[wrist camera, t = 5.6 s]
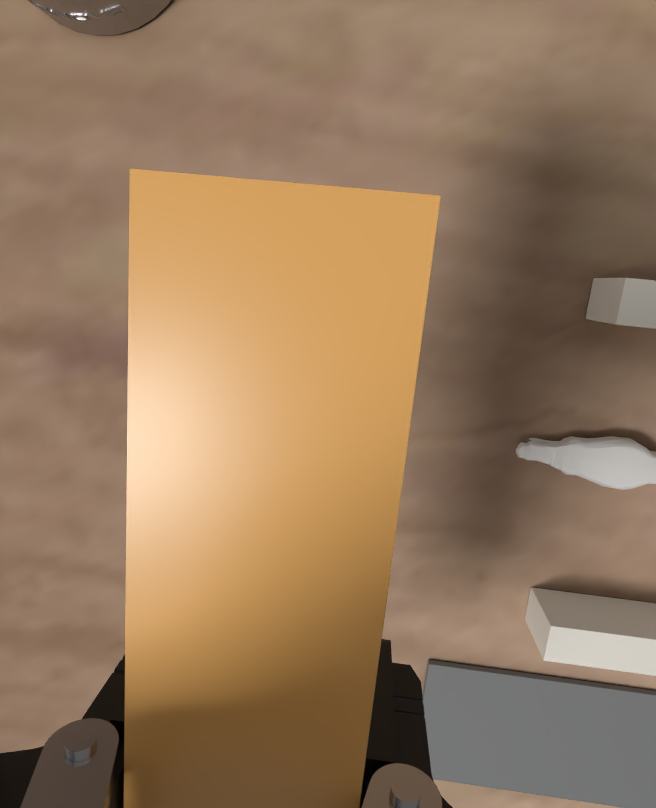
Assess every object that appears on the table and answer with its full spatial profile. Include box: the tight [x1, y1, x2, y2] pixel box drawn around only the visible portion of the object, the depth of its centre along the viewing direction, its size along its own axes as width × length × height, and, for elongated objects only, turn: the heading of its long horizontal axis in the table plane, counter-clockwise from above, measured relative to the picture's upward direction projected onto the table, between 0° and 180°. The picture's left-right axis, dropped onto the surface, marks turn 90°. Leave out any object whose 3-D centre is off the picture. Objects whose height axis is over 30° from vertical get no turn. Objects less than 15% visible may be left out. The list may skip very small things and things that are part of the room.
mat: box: [423, 660, 656, 808], centre depth 32 cm, size 8×17×1 cm, turn 85°
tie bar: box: [124, 169, 441, 808], centre depth 11 cm, size 21×4×4 cm, turn 175°
